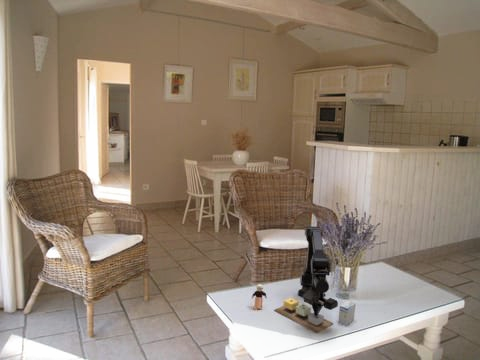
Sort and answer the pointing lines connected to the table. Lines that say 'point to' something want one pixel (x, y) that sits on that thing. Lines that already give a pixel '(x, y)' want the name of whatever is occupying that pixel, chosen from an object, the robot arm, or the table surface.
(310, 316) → the slate tile
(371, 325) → the table surface
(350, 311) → the medicine box
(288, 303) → the mustard tile
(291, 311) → the button board
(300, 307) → the sage tile
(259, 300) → the grandmother figurine
